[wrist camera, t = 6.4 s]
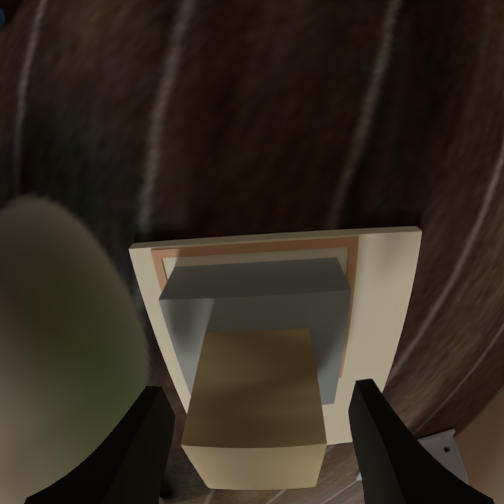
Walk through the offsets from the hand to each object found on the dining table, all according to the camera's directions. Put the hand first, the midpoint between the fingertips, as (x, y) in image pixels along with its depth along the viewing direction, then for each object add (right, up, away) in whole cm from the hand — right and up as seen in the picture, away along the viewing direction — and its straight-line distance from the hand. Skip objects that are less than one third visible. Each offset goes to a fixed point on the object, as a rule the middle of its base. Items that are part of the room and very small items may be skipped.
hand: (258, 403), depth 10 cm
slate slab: (0, +2, +4) cm, 5 cm away
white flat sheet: (+2, -2, +7) cm, 7 cm away
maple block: (0, +1, +2) cm, 2 cm away
